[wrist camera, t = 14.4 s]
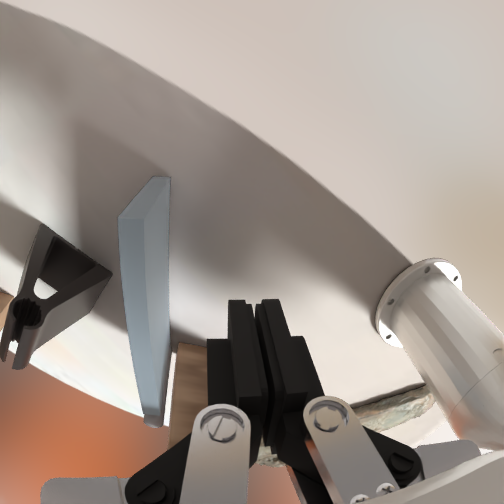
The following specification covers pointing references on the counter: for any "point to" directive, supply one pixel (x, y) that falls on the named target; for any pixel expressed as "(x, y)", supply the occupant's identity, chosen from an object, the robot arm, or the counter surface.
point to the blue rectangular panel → (148, 292)
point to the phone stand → (59, 304)
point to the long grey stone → (374, 417)
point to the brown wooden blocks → (184, 385)
